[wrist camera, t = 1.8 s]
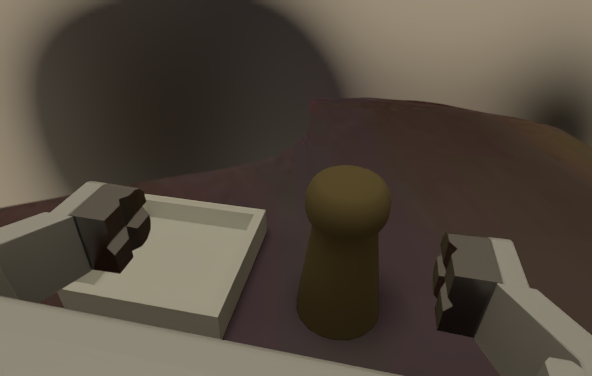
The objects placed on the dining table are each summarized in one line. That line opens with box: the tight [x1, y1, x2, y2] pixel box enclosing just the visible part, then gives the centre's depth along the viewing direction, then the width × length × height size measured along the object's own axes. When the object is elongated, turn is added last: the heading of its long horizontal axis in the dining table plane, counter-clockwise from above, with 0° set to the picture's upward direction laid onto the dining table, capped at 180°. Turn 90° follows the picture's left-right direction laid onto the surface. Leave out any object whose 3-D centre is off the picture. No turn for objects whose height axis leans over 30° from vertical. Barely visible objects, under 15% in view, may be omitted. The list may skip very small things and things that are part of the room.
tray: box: [57, 194, 266, 340], centre depth 32 cm, size 12×12×2 cm
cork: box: [297, 165, 392, 340], centre depth 27 cm, size 6×6×11 cm
